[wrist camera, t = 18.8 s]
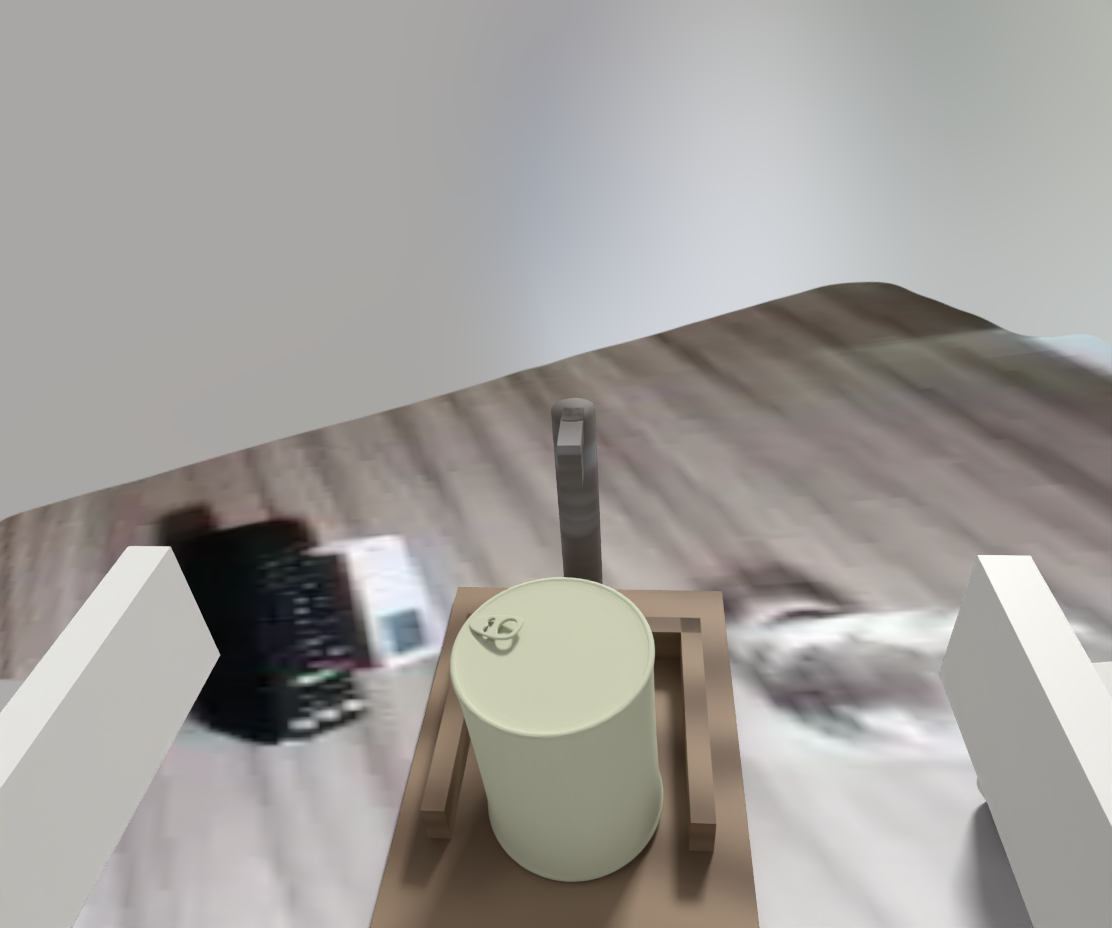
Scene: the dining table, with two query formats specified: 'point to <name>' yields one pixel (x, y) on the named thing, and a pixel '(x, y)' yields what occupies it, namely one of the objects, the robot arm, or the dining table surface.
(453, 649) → the can
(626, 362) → the dining table surface
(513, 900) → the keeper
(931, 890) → the dining table surface
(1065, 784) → the robot arm
